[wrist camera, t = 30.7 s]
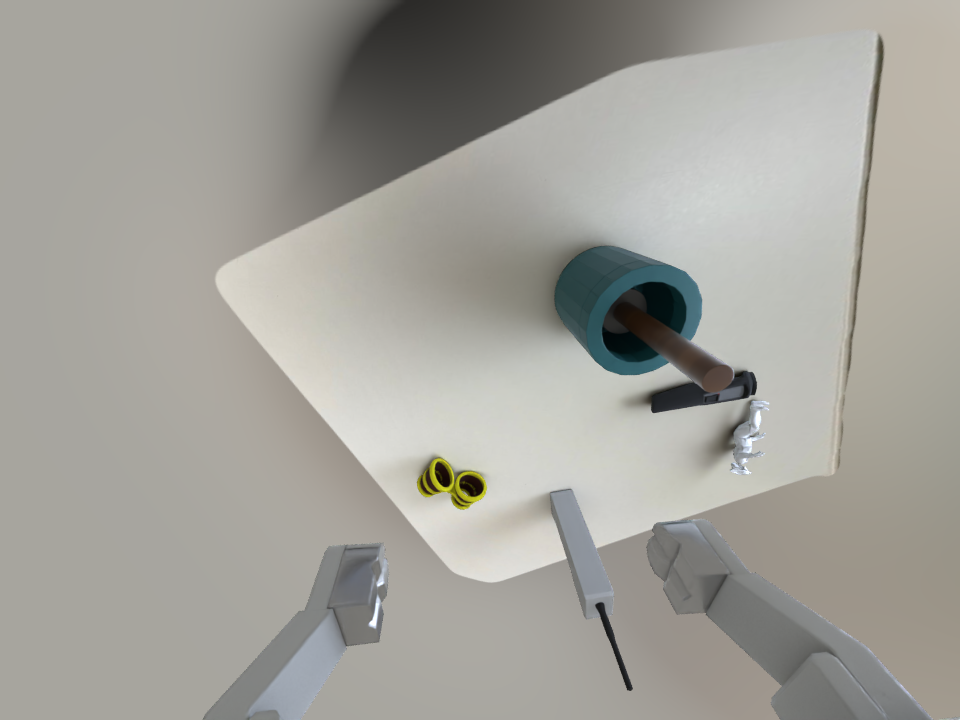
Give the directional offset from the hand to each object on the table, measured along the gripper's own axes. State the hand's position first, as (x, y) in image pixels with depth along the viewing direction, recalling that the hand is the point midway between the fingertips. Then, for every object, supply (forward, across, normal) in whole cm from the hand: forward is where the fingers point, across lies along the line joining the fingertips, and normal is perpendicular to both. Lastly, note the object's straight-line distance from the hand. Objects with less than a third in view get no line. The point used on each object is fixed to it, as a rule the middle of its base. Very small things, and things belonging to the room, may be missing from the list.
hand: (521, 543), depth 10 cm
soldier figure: (+33, -43, +25) cm, 60 cm away
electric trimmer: (+33, -34, +17) cm, 50 cm away
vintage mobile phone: (+33, -16, +38) cm, 53 cm away
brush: (+32, -16, +2) cm, 36 cm away
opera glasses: (+33, +3, +31) cm, 45 cm away
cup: (+33, -16, +2) cm, 37 cm away
